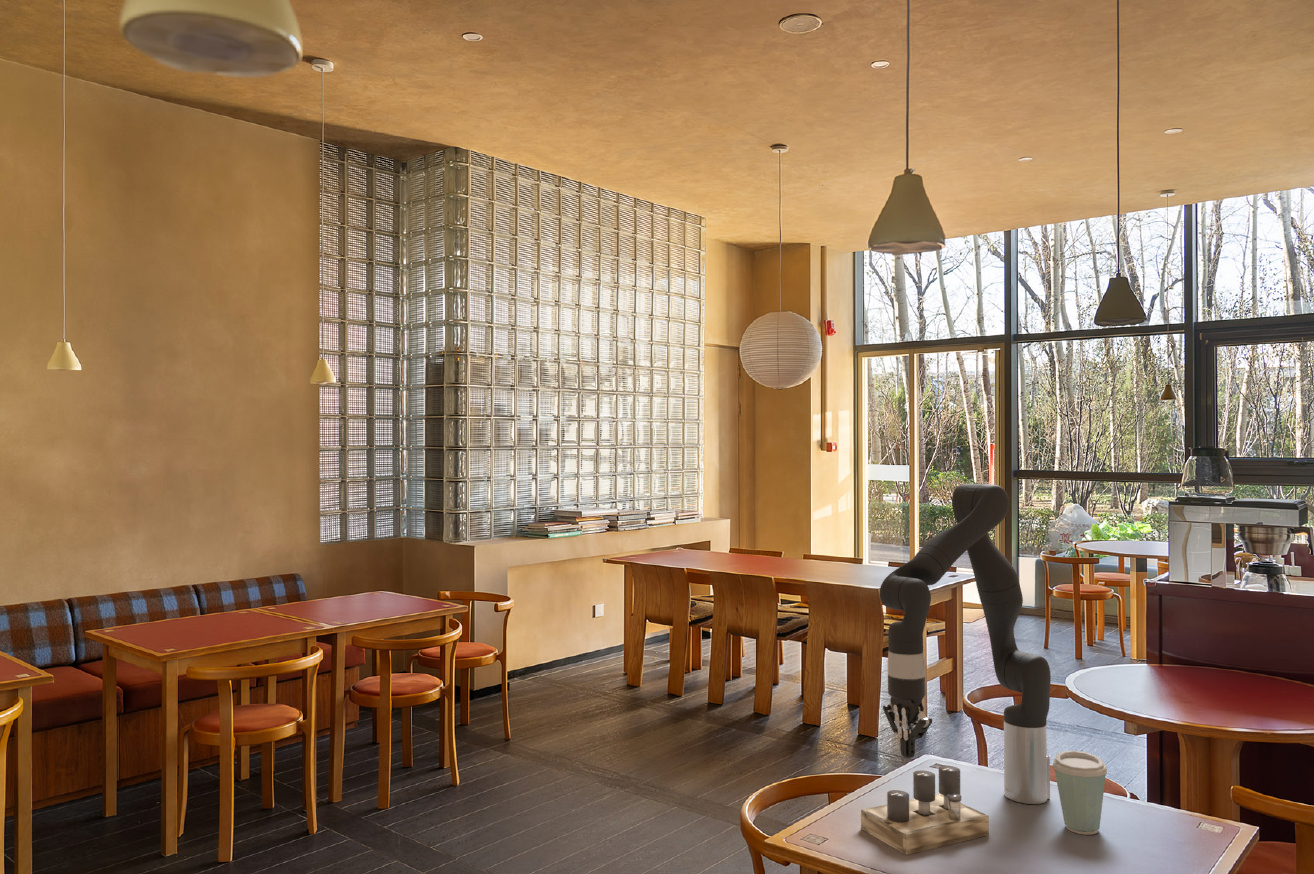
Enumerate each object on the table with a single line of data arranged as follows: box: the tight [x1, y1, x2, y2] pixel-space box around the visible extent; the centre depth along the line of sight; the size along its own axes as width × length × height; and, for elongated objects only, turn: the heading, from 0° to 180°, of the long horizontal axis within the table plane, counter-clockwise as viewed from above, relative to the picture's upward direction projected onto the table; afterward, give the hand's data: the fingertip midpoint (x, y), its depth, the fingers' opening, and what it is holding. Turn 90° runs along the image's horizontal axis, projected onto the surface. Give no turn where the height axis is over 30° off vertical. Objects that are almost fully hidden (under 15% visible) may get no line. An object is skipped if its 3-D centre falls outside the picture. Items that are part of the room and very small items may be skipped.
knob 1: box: [886, 789, 910, 823], centre depth 186 cm, size 4×4×8 cm
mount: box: [860, 793, 990, 856], centre depth 189 cm, size 22×14×4 cm, turn 116°
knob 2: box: [938, 765, 961, 809], centre depth 192 cm, size 4×4×8 cm
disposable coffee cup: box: [1052, 750, 1108, 836], centre depth 191 cm, size 11×11×15 cm
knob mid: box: [912, 770, 936, 815], centre depth 189 cm, size 4×4×8 cm
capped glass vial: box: [947, 793, 962, 821], centre depth 186 cm, size 3×3×5 cm
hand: (907, 756), depth 188 cm, fingers closed
